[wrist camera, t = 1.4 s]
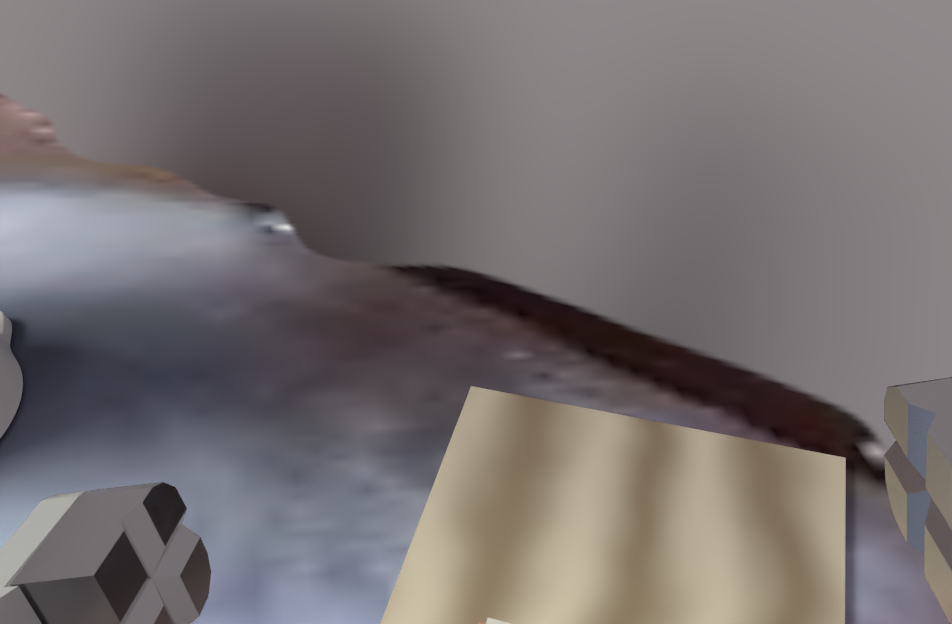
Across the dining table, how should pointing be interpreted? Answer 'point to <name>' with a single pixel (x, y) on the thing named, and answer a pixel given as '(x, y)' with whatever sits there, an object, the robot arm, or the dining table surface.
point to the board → (621, 524)
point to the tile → (494, 621)
